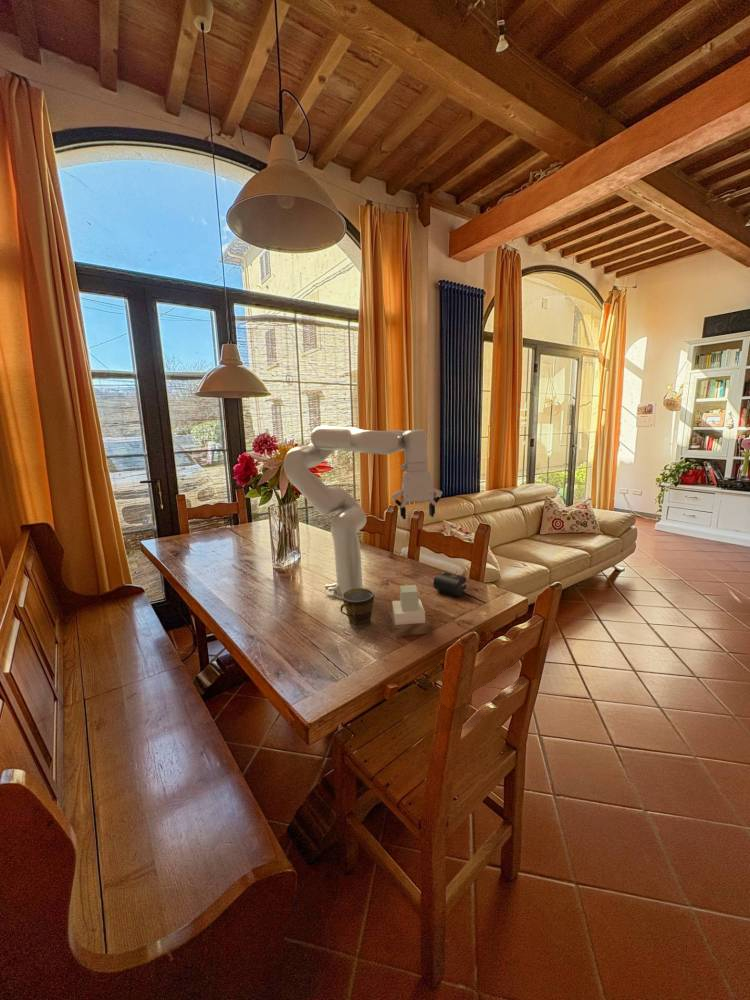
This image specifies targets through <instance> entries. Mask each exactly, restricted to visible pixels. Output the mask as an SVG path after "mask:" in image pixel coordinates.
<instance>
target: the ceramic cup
mask: <svg viewBox="0 0 750 1000" xmlns="http://www.w3.org/2000/svg"><path fill="white" fill-rule="evenodd" d="M374 597H375V593H374V591H372V590H371V589H368V588H367V589H365V588H356V589H351V590H348V591H346V592H345V593H344V594H343V595H342V598H343V600H342V601H343V603H342V604H341V606H340V613H341V614H343V615H345V616H346V617H347V619H348V622H349V627H351V628H352V629H356V630H359V629H360V630H361V629H365V628H367V627H369V626H370V625H371V622H372V621H371V620H372V613H373V607H374ZM344 608H345V611H346V612H343V609H344Z"/></svg>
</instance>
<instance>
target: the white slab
mask: <svg viewBox="0 0 750 1000" xmlns="http://www.w3.org/2000/svg"><path fill="white" fill-rule="evenodd" d="M391 604H392V611H393V615H394V620H395V625H402V624H415V623H425V614H426V611H425V609H424V606H423V603H422V601H421V599H420V598H418V604H419V610H410V611H402V608H401V604H400V600H392V601H391Z"/></svg>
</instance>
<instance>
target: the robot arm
mask: <svg viewBox="0 0 750 1000" xmlns="http://www.w3.org/2000/svg"><path fill="white" fill-rule="evenodd" d="M427 441H428V435H427V432H426V429H425V430H424V429H408V430H400V429H391V430H390V429H389V430H367V429H361V428H358V427H356V426H341V425H339V426H337V425H333V424H328V425H327V424H326V425H318V426H316V427H315V428H314V429H312V431H311V433H310V443H309V444H308V445H300V446H295V447H293V448H291V449H290V450H288V451H287V453H286V454H285V456H284V459H283V471H284V474H285V477H286V478H287V479H288V481H289V482H290V483H291V484H292V485H293V486H294V487H295V489H297V490H298V491H299V492H300V494H301V495H302V496H303V497H304V498H305V499H306V500H307V502H308V503H310V505H311V506H312V507H313V508H314V510H315V511H317V512H318V513H319V514H320V515H322V516H330V515H332V514H334V513H335V514H336V515H335V516H334V517H333V518H332V520H331V522H330V532H331V537H332V540H333V547H334V548H333V549H334V561H335V573H336V580H335V582H334V583H332V584H330V583H329V584H328V583H327V584H324V589H325V591H327V590H328V592H333V596H334V597H335V598H337V599H338V600H342V601H343V598H342V595H343V594H344V593H345V592H346V591H348V590H351V589H356V588H365V589H368V588H367V586H365V585H364V584H363V571H362V557H361V554H362V553H361V544H360V540H359V536H358V533H359V531H360V530H362V529H363V528H364V527H365V525H366V523H367V519H368V518H367V514H366V512H365V509H363V508H362V506H361V505H359V504H358V502H357V501H356V500H355V499H354V498H353V497H352V496H351V494H349V493H348V492H347V491H346V490H345V489H344V488H342V487H341V486H338V485H331V486H327V485H326V484H325V483H324V482H323V481H322V480H321V479H320V478H319V477H318V476H317V475H316V474H314V473H313V472H311V471H310V470H309V469H311V468H315V467H318V466H319V465H320V464H322V463H323V462H324V461H325V460H326V459H327V458H328V457H329V456H330V455H331V454H333V453H334V452H335V451H340V452H353V453H361V454H362V453H363V454H371V455H373V454H374V455H393V454H395V453H399V452H403V451H404V463H403V464H401V465H400V470H404V471H403V472H402V476H401V477H402V479H401V489H399V490H398V491H396V492H394V493H392V494H391V498H392V500H393V502H395V504H396V505H397V506H399V510H400V515H399V516H400V517H401V518H402V519H403V520H406V519H407V514H406V513H407V511H406V509H407V508H406V507H405V506H406V504H408V503H419V502H420V503H421V502H428V503H429V504H428V511H429V512H428V514H429V516H430V517H431V518H434V517H435V516H434V515H435V514H436V505H437V503H438V502H439V501H440V500H441V499H440V498H441V497H442V495H443V491H442V490H440V489H437V488H435V487H434V486H433V484H434V483H433V478H432V473H431V471H430V470H429V468H428V466H429V465H428V442H427ZM434 493H436V495H435V496H434ZM399 496H401V501H400V500H399V499H398V497H399Z"/></svg>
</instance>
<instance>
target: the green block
mask: <svg viewBox="0 0 750 1000" xmlns="http://www.w3.org/2000/svg"><path fill="white" fill-rule="evenodd" d="M418 599H419V591H418V587H417V585H416V584H409V585H400V586H399V601H400V604H401V608H402V611H410V610H419V604H418Z"/></svg>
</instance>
